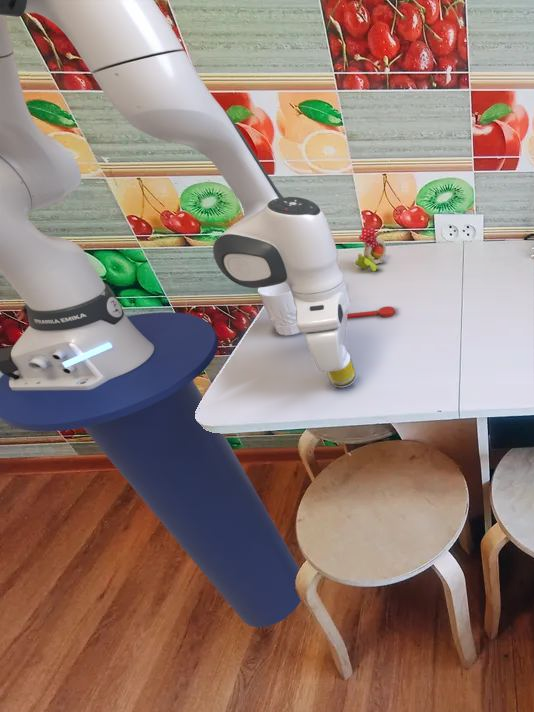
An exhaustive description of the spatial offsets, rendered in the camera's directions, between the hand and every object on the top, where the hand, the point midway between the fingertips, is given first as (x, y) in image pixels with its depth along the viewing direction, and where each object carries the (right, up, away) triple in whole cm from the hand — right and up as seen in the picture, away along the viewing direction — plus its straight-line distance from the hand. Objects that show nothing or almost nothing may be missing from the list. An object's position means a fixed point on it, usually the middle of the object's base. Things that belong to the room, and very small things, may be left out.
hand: (342, 361), depth 88 cm
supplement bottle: (0, -3, -1) cm, 3 cm away
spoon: (-2, +11, +18) cm, 21 cm away
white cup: (-16, +8, +14) cm, 23 cm away
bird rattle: (-5, +28, +38) cm, 47 cm away
